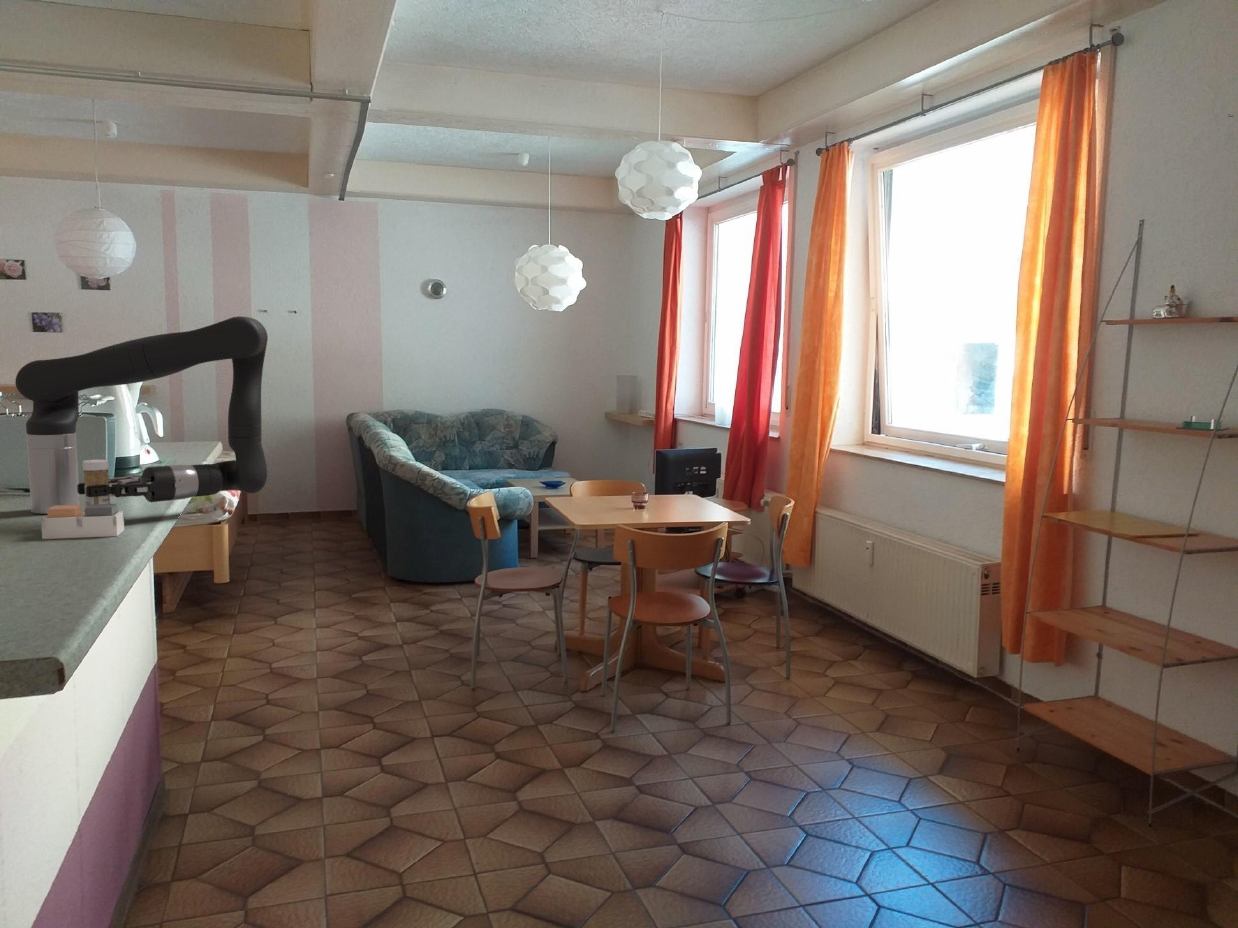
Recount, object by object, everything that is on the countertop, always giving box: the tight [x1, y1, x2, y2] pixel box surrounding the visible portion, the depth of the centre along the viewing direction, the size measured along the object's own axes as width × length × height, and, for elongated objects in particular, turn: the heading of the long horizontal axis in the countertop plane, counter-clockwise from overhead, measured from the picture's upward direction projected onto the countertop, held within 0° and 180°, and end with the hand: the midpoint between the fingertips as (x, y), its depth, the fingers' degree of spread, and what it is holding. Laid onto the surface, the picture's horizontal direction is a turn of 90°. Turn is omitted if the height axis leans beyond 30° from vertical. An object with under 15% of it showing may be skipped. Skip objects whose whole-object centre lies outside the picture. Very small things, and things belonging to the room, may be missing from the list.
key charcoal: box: [84, 503, 118, 517], centre depth 176 cm, size 5×5×2 cm
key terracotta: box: [47, 504, 83, 518], centre depth 174 cm, size 5×5×2 cm
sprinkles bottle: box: [82, 458, 111, 508], centre depth 184 cm, size 5×5×13 cm
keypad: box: [40, 510, 125, 540], centre depth 175 cm, size 6×13×4 cm, turn 108°
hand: (82, 490), depth 182 cm, fingers closed on sprinkles bottle, 4 cm apart
